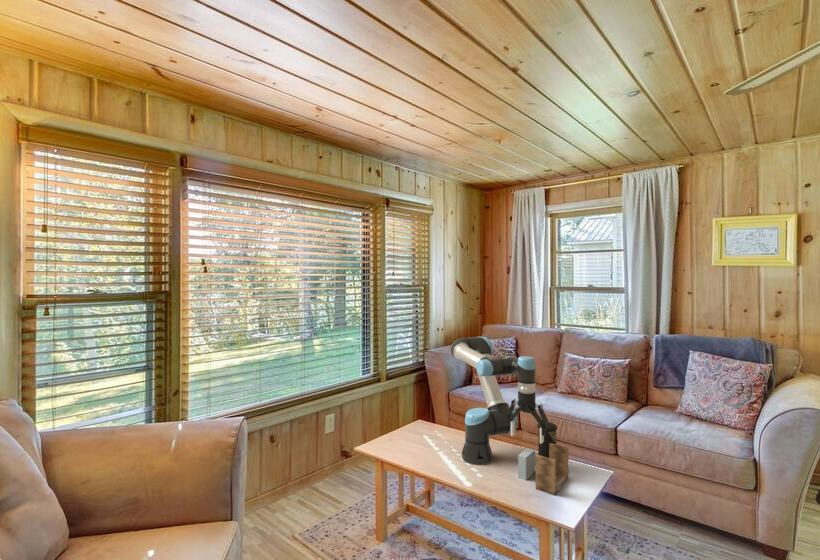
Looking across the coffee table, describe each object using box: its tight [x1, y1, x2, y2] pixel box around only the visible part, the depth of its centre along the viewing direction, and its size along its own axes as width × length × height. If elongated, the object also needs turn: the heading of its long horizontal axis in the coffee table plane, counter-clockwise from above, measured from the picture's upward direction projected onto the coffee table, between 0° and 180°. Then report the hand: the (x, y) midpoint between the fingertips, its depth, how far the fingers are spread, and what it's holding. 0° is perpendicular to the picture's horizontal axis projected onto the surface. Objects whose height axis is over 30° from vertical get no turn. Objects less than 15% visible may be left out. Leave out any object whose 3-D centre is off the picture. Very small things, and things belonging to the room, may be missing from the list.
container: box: [537, 421, 558, 458], centre depth 192 cm, size 9×9×20 cm
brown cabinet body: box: [535, 443, 569, 496], centre depth 175 cm, size 8×17×14 cm, turn 141°
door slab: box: [517, 448, 536, 481], centre depth 184 cm, size 4×10×10 cm, turn 141°
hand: (526, 438), depth 183 cm, fingers open, 13 cm apart
